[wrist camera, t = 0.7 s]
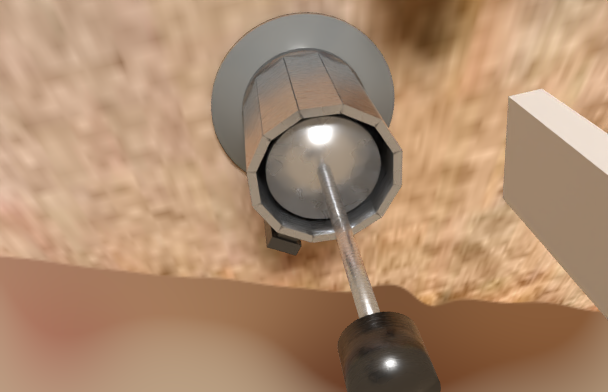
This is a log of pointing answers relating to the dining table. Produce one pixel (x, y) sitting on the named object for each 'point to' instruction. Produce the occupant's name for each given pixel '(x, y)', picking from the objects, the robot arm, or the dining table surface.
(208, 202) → the dining table surface
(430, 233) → the dining table surface
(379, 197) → the faceted metal cup
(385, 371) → the plunger
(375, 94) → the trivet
